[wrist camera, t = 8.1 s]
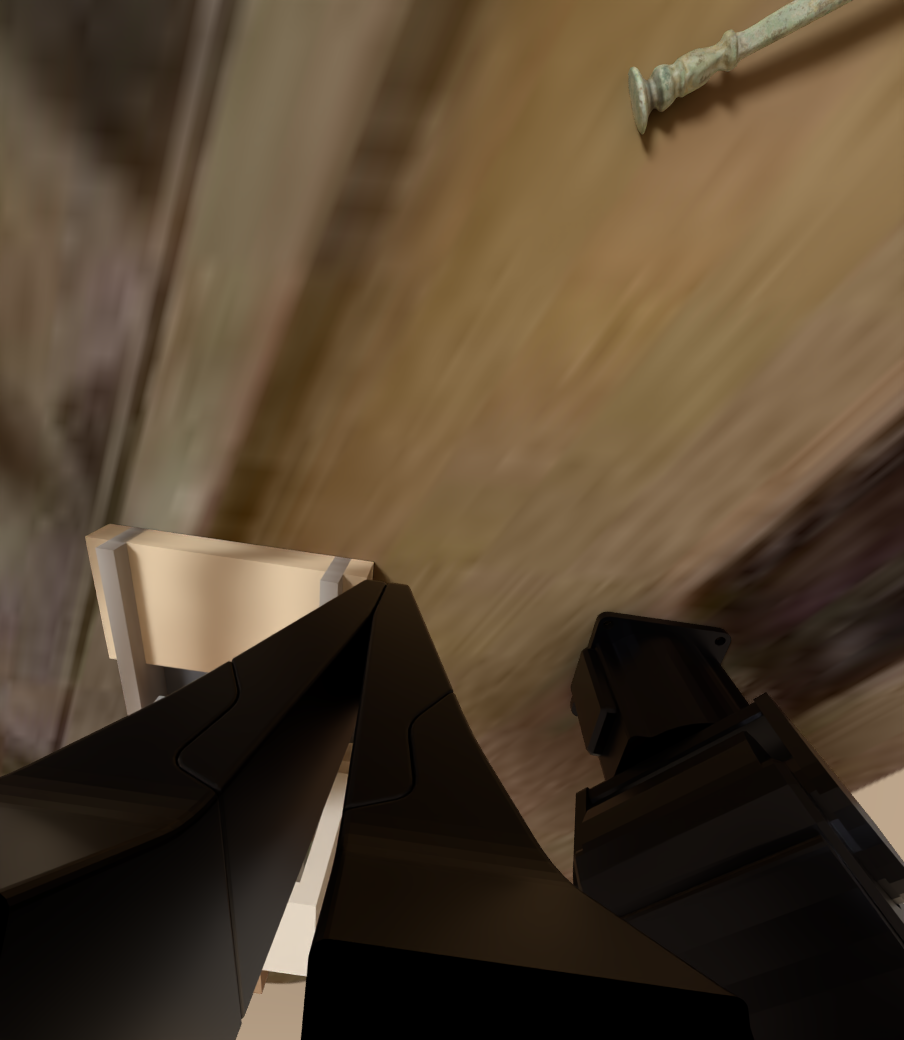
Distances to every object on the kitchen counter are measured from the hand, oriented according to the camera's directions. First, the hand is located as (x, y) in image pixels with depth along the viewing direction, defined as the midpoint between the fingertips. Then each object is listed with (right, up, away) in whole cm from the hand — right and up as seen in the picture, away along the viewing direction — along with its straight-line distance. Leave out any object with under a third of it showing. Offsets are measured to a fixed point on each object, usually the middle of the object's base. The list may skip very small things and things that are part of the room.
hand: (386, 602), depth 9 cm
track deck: (-11, -12, +18) cm, 24 cm away
